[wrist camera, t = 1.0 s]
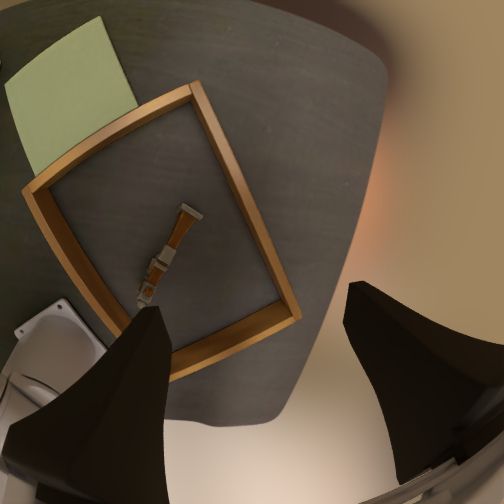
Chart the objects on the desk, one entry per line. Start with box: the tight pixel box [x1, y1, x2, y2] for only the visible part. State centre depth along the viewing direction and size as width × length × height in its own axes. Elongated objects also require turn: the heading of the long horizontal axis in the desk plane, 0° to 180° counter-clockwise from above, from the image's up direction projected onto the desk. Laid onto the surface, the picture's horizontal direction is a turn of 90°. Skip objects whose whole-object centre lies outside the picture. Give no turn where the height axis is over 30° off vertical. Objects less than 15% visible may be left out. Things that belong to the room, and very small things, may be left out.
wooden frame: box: [22, 80, 303, 382], centre depth 20 cm, size 15×21×3 cm
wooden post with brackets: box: [137, 203, 203, 309], centre depth 20 cm, size 2×8×4 cm, turn 143°
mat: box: [5, 16, 139, 176], centre depth 14 cm, size 10×10×1 cm
